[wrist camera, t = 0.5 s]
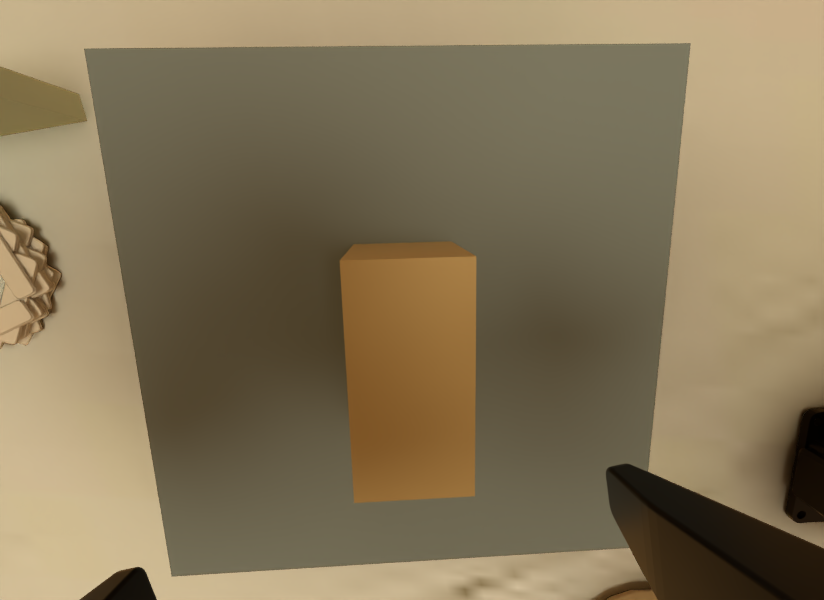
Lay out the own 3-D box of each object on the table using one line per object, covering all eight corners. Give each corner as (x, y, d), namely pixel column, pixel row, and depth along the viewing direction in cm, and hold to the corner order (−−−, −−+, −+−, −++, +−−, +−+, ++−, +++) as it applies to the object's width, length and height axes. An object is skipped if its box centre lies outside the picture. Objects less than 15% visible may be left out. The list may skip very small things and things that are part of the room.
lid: (665, 56, 14) (822, -27, 9) (623, 524, 18) (718, 654, 13) (111, 62, 13) (-61, -26, 8) (186, 550, 17) (100, 699, 12)
